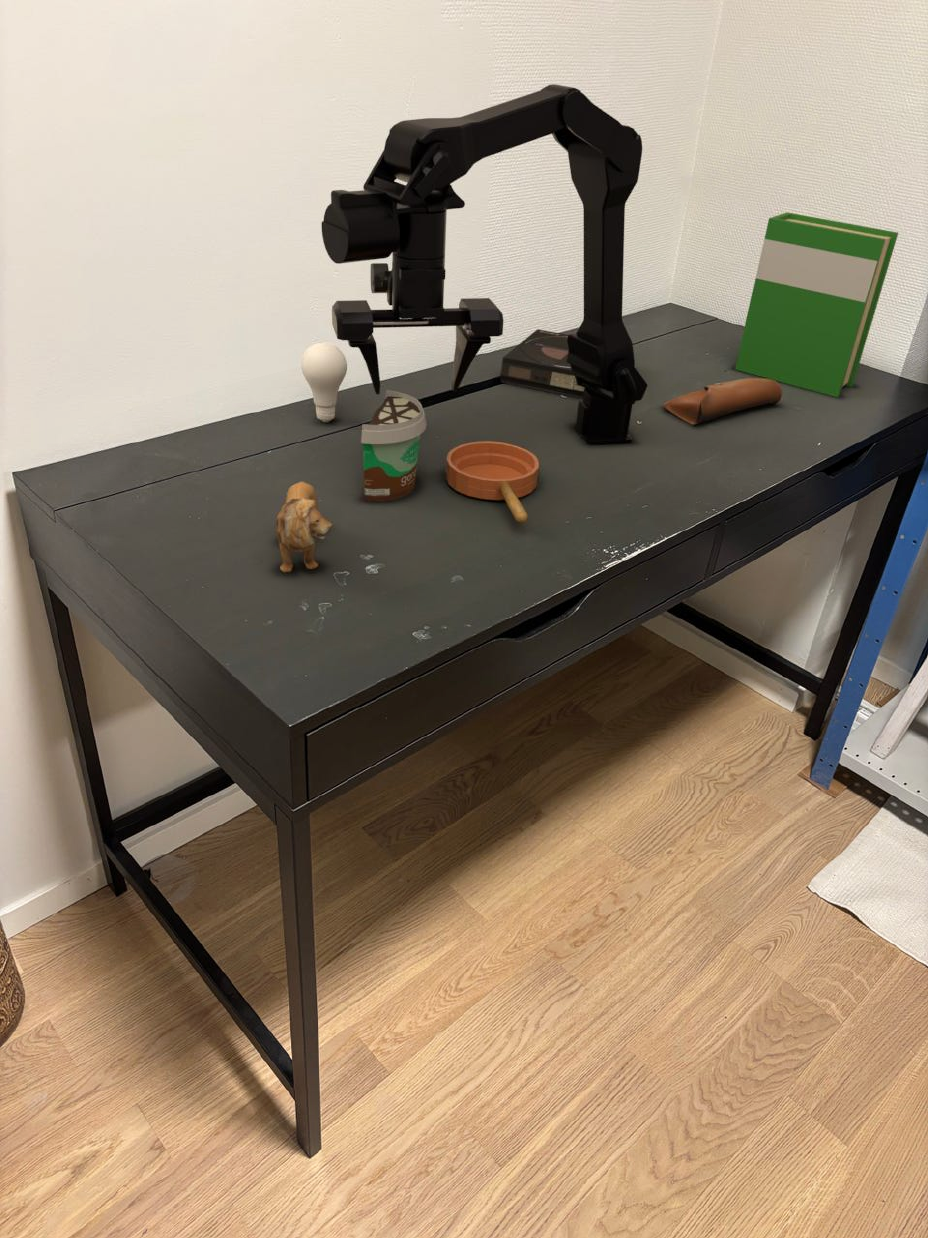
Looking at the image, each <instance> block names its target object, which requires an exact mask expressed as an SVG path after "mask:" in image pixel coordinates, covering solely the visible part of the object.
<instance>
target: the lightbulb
mask: <svg viewBox="0 0 928 1238" xmlns="http://www.w3.org/2000/svg"><path fill="white" fill-rule="evenodd" d="M300 365H301V367H300V368H301V372H302V375H303V378H304V379H305V381H306V382H307V384H308V385H309V387H310V390H311V393H312V397H313V404H314V405H315V413H316V418H317V419H318V420H320V421H322V422H323V423H329V422H330V421H332V420H333V419H335V417H336V405H337V402H338V394H339V390H340V387H341V386H342V383H343V381H344V380H345V377H346V376H347V371H348V363H347V359H346V356H345V354H344V352H343V350H341V349H340V348H339V347H338V346H336V345H335V344H332V343H330V342H326V341H323V342H316V343H314V344H312V345H310V346H309V347H307V349H306V350H305V352H304V353H303V355H302V357H301V363H300Z"/></svg>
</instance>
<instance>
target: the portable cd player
mask: <svg viewBox="0 0 928 1238" xmlns="http://www.w3.org/2000/svg"><path fill="white" fill-rule="evenodd" d="M568 335H569V334H566V333H560V332H556V331H550V330H544V329H539V328H537V329H536V330H534V331H533V332H532V333H531V334H530V335H528V336H527V337H526V338H525V339H523V340H522V341H521V342H520V343H519V344H517V345H516V346H515V347H514V348H513V349H511V350H510V351H508V352H507V353H506V354H505V355H504V356H503V357H502V361H501V368H500V373H499V378H500V383H502V384H507V385H513V386H517V387H522V388H527V389H533V390H538V391H541V392H542V391H543V392H548V393H552V394H558V395H563V396H567V397H572V398H577V399H581V400H583V392H584V389H585V388H584V387H582V386H578V385H577V383H576V377H575V373H574V372H572V369H571V364H569V363H567V362H566V361H567V357H568V351H569V349H568V342H567V338H568Z"/></svg>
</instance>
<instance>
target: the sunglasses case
mask: <svg viewBox="0 0 928 1238" xmlns="http://www.w3.org/2000/svg"><path fill="white" fill-rule="evenodd" d="M782 390H783V389H782V386H781V385H780V382H779V381H776V380H772V379H768V378H765V377H753V378H752V377H750V378H740V379H735V380H729V381H724V382H723V381H722V382H719V383H718V382H715V383H714V384H709V385H705V386H704V387H703V389H700V390H696V391H691V392H688V393H686V394H682V395H680V396H677V397H675V398H672V399H670V400H668V401H666V402H665V403H663V406H662V407H663V408H664V409H665V410H667V411H668V412H669V413H671V414H672V415H673V416H675V417H676V418H678V419H680V420H682V421H684V422H686V423H688V424H690V425H692V426H695V425H698V424H700V423H701V422H702V423H704V422H708V421H710V420H713V419H716V418H720V417H722V416H723V415H725V416H726V415H728V414H731V413H733V412H738V411H743V410H747V409H751V408H753V407H754V408H755V407H760V406H762V405H767V404H770V403H772V404H774V405H776V404H778V403H779V402H780V401H781V400H782V398H783V397H782V396H783V391H782Z"/></svg>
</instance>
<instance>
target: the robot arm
mask: <svg viewBox="0 0 928 1238" xmlns="http://www.w3.org/2000/svg"><path fill="white" fill-rule="evenodd" d="M550 135H552V138H553V139H554V141H555V142H556V143H557V144H558V145H559V146H560V147H561V148H562V149H564V150H565V151H566V152H567V157H568V163H569V170H570V178H571V181H572V183H573V186H574V187H575V190H576V193H577V194H578V197H579V199H580V201H581V203H582V207H583V209H582V210H583V317H582V318H583V319H582V322H581V323H580V325H579V326H578V328H577V330H576V332H574V333H573V332H572V333H569V334H567V335H568V338H567V342H568V349H569V351H568V357H567V361H566V362H567V363H569V364H571V369H572V372H574V373H575V377H576V383H577V385H578V386H582V387H584V388H585V389H584V392H583V399H579V401H578V405H577V413H576V420H575V422H574V428H575V429H576V431H577V432H578V433H579V434H580V435H581V436H582V438H583V439H584V440H585V441H586V443H587V444H591V445H593V444H594V445H595V444H616V443H618V444H620V443H631V442H632V441H633V437H632V436H631V435H630V434H629V429H630V422H631V416H632V411H633V405H635V403H636V402H638V401H641V400H643V398H644V395H645V393H646V390H647V388H648V383H647V382H646V381H645V379H644V378H643V376H642V375H641V374H640V372H639V371H638V369H637V368H636V359H635V353H634V342H633V340H632V337H631V336H630V334H629V332H628V328H627V326H626V325H625V323H624V320H623V295H624V261H625V260H624V256H625V255H624V253H625V220H626V219H625V217H626V216H625V215H626V203H627V201H628V200H629V198H630V196H631V194H632V192H633V191H634V189H635V187H636V185H637V183H638V182H639V176H640V170H641V169H640V168H641V162H642V155H643V141H642V137H641V135H640V134H639V133H638V132H637V131H636V130H635V128H633V127H631V126H629V125H626V124H621V122H620V121H618V120H617V119H616V118H615V117H613V116H611V115H610V114H609V113H607V112H606V111H604V110H603V109H601V108H600V107H599V106H597V105H596V104H594V103H593V102H592V101H591V100H590V98H588V97H587V96H586V95H585V94H584V93H583V92H582V91H581V90H580V89H579V88H576V87H572V86H566V85H561V84H548V85H546V86H545V87H543V88H541V89H540V90H538V91H534V92H531V93H529V94H526V95H522V96H519V97H517V98H514V99H510V100H507V101H505V102H502V103H498V104H496V105H492V106H490V107H487V108H484V109H481V110H478V111H477V110H476V111H475V112H471V113H469V114H466V115H462V116H459V117H430V118H429V117H427V118H417V119H404V120H401V121H399V122H397V123H395V124H393V126H392V127H391V128H389V131H388V135H387V137H386V139H385V142H384V148H383V151H382V152H381V154H380V156H379V158H378V160H377V161H376V163H375V165H374V167H373V168H372V169H371V171H370V173H369V175H368V177H367V178H366V181H365V182H364V183H363V190H345V189H336V190H335V189H334V190H331V192H330V203H329V204H328V205H327V207H326V209H325V211H324V214H323V221H321V223H320V225H321V226H320V227H321V237H322V242H323V246H324V248H325V251H326V253H327V256H328V257H329V259H330V260H331V261H332V262H333V263H335V264H338V265H339V264H340V265H341V264H349V263H356V262H357V263H358V262H365V261H373V260H382V259H383V260H384V259H388V258H389V257H390V256H392V257H391V259H392V260H391V261H392V262H391V270H389V269H390V268H389V264H388V263H387V262H379V263H378V262H377V263H376V262H375V263H373V262H372V263H371V264H370V278H369V279H370V291H371V293H372V294H386V302H387V304H388V306H391V309H372V308H371V306H370V305H369V302H368V300H366V299H365V300H364V299H362V300H361V299H360V300H355V299H354V300H336V301H335V302H334V303H333V305H332V307H331V322H332V323H331V324H332V328H333V331H334V333H335V337H336V339H337V340H340V341H347V344H348V346H349V347H350V348H358V350H359V352H360V353H361V355H362V357H363V359H364V361H365V365H366V368H367V371H368V374H369V377H370V380H371V383H372V386H373V389H374V392H375V394H376V395H380V394H381V377H380V368H379V358H378V348H377V347H378V346H377V342H376V340H375V337H374V335H373V334H374V329H379V328H381V329H382V328H383V329H384V328H414V327H415V328H423V327H427V328H429V327H455V349H454V357H453V363H452V372H451V389H452V391H453V392H458V390H459V388H460V386H461V384H462V381H463V379H464V378H465V375H466V373H467V372H468V370H469V368H470V365H472V362H473V360H474V359H475V357H476V356H477V354H478V353H479V351H480V350H481V348H482V347H483V346H484V345H489V344H491V342H492V337H501V336H503V332H504V314H503V313H502V311H501V310H500V308H498V307H497V305H496V303H494V302H493V301H492V299H490V298H489V297H477V298H476V297H473V298H472V297H470V298H460V301H459V303H458V307H453V308H452V307H451V308H448V307H447V308H445V307H444V299H445V297H444V295H445V281H446V267H445V266H446V244H447V243H446V241H447V240H446V239H447V214H448V213H447V212H448V211H447V210H455V209H456V210H457V209H458V210H459V209H463V208H464V207H465V205H466V202H465V200H463V199H462V197H460V195H458V193H456V191H455V190H454V188H453V186H452V183H455V182H456V181H458V180H459V179H461V178H463V177H464V176H465V175H467V174H468V172H469V171H470V170H471V169H472V167H473V166H474V165H475V164H476V163H478V162H480V161H481V160H483V159H486V158H487V157H491V156H493V155H496V154H499V153H502V152H504V151H508V150H511V149H513V148H515V147H519V146H522V145H524V144H527V143H530V142H533V141H535V140H538V139H541V138H544V137H546V136H550ZM396 180H399V181H402V182H405V183H406V184H403V183H401V182H397V181H396Z"/></svg>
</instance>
